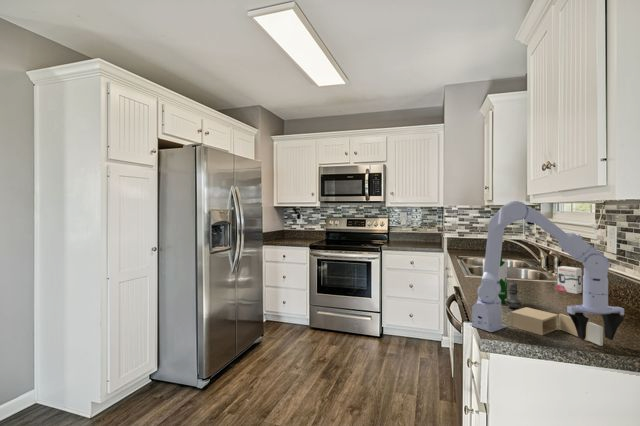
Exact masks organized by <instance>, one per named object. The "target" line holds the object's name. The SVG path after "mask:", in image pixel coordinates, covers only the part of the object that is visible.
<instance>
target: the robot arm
mask: <svg viewBox="0 0 640 426" xmlns="http://www.w3.org/2000/svg"><path fill="white" fill-rule="evenodd" d="M520 220H524V222H527V223H532V224H535V225H537V226H538V227H539V228H541V229H542V230H544V231H545V232H546V233H547V234H549V235H550V236H552V237H553V238H555V240H557V246H558V247H559V248H560V249H561V250H563V252H565V253H567V254H568V255H569V256H571V257H572V258H573V259H574V260H575V261H577V262H581V264H582V266H583V274H582V275H583V276H582V304H578V305H577V304H576V305H567V306H566V309H567V310H566V312H567V313H568V316H569V317H571V319H572V321H573V323H574V325H575V327H576V330H577V334H578V338H579V339H581V340H584V339H585V338H586V326H587V323H588V322H589V318H588V317H586V316H585V315H601V317H602V320H603V334H604V337H605V338H606V339H608V340H610V341H613V340H614V337H615V335H616V332H617V330H618V328H619V326H620V325H621V323H623V322H624V319H625V318H624V315H625V308H623V307H620V306H611V305H609V278H608V275H609V272H608V270H609V269H610V268H611V263H610V261H609V259H608V257H607V256H605V255H604V254H603V253H602V252H601V251H599V248H598V247H596V246H592V245H590V244H589V243H588V242H586V241H585V240H584V239H583V235H581V234H576V233H574V232H565V231H564V230H563V229H562V228H560V227H559V226H558V225H557V224H556V223H553V222H552V221H551V220H550V219H549V218H547V217H546V216H545V215H544V214H542V213H541V212H540V211H538V210H536V209H534V208H533V207H531V206H528V205H527V204H525V203H524V202H522V201H519V200H513V201H510V202H508V203H506V204H504V205H502V206H501V207H500V209H499V210H497V212H496V213H495V214H494V215H493V216H492V217H491V218H490V220H489V221H488V228H487V229H488V230H487V237H486V246H485V256H484V259H485V264H484V273H483V272H482V277H481V281H480V284H479V286H478V287H477V290H476V292H477V296H478V297H477V301H476V303H474V304H473V305H472V308H471V323H469V326H471V327H473V328H477V329H481V330H483V331H487V332H489V333H493V332H497V331H499V330H502V329H505V328H507V327H508V325H506V324H503V323H502V303H501V299H500V298H499V296H498V294H499V293H500V292H501V286H500V283H499V269H500V260H501V256H502V249H503V241H504V231H505V228H506V227H508V226H509V225H511V224H512V223H515V222H517V221H520Z"/></svg>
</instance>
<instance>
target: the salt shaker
mask: <svg viewBox="0 0 640 426" xmlns="http://www.w3.org/2000/svg"><path fill="white" fill-rule="evenodd" d="M507 293H508V295H507V299H505V302H506V303H505V304H506V305H507V306H506V307H505V310H506V311H510V312H512V311H515V310H518V309H520V308H519V307H520V306H521V303H522V300H521V299H519V298H518V293H519V291H518V283H517V282H515V280H514V279H512V280H511V282H509V283H508V289H507Z"/></svg>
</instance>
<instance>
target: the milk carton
mask: <svg viewBox="0 0 640 426" xmlns="http://www.w3.org/2000/svg"><path fill="white" fill-rule="evenodd" d="M484 264H485V258H483V259H482V274H483V273H484ZM508 265H509V264H508V261H507V260H504V259H503V256H502V255H501V260H500V269H499V283H500V286H501V292H500V293H499V294H498V296H499V298H500V299H501V304H506V302H505V299H507V298H508Z"/></svg>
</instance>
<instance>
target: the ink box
mask: <svg viewBox="0 0 640 426" xmlns="http://www.w3.org/2000/svg"><path fill="white" fill-rule="evenodd" d="M582 271H583V270H582V268H581V267H573V266H566V265H562V266H557V280H556V281H557V287H556V289H557V291H560V292H565V293H570V294H581V293H582V294H583V276H582V275H583V274H582V273H583V272H582Z"/></svg>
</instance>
